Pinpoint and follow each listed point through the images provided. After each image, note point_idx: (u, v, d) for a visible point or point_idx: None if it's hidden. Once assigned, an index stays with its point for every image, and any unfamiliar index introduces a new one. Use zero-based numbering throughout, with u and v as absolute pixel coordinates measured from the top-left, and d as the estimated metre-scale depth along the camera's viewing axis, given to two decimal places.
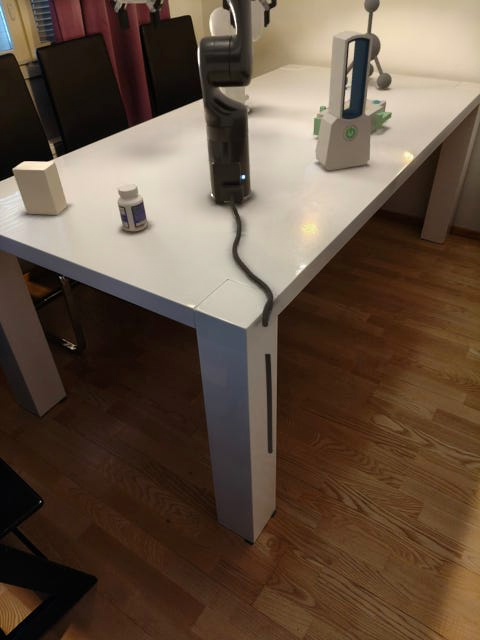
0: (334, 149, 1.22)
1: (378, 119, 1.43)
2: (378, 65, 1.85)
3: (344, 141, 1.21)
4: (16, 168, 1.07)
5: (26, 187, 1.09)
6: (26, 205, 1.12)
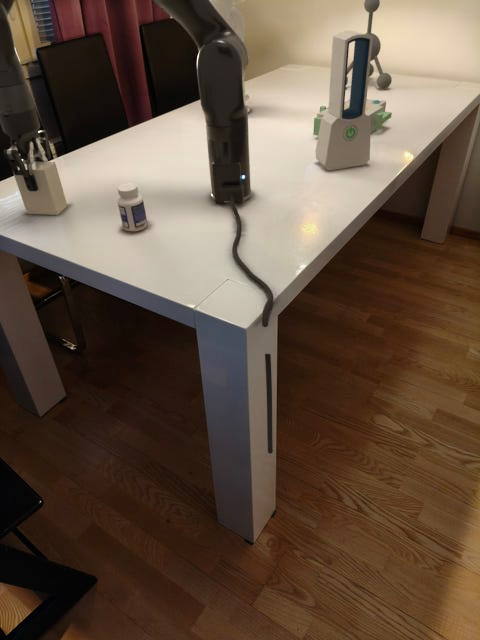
0: (334, 149, 1.22)
1: (378, 119, 1.43)
2: (378, 65, 1.85)
3: (344, 141, 1.21)
4: None
5: (26, 187, 1.09)
6: (26, 205, 1.12)
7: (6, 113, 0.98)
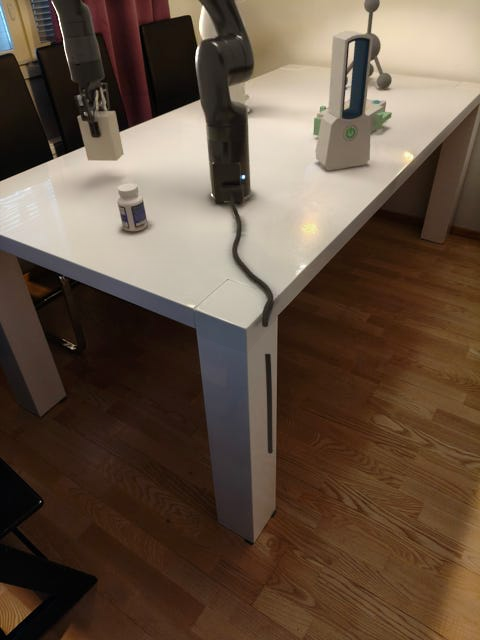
0: (334, 149, 1.22)
1: (378, 119, 1.43)
2: (378, 65, 1.85)
3: (344, 141, 1.21)
4: None
5: (90, 134, 1.19)
6: (88, 152, 1.22)
7: (78, 61, 1.08)
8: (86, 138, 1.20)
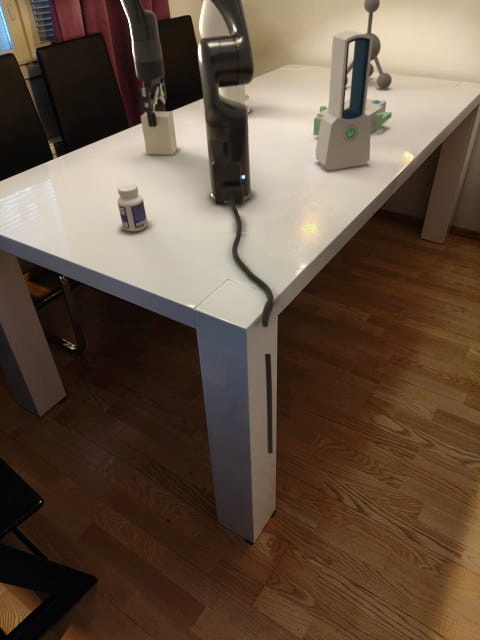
0: (334, 149, 1.22)
1: (378, 119, 1.43)
2: (378, 65, 1.85)
3: (344, 141, 1.21)
4: (143, 115, 1.36)
5: (150, 131, 1.38)
6: (147, 147, 1.41)
7: (144, 61, 1.25)
8: (147, 135, 1.38)
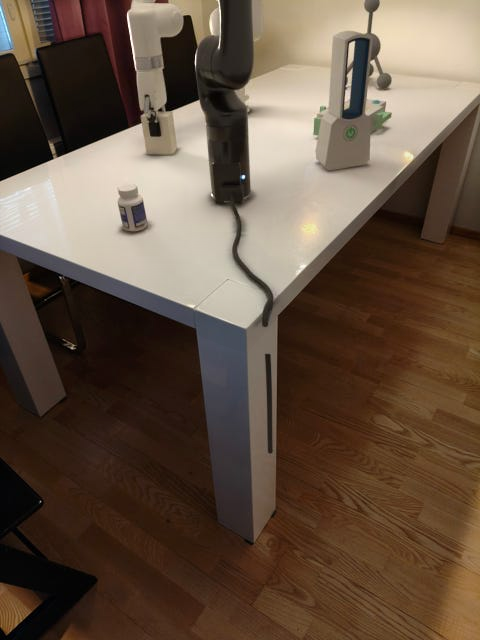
0: (334, 149, 1.22)
1: (378, 119, 1.43)
2: (378, 65, 1.85)
3: (344, 141, 1.21)
4: (143, 115, 1.36)
5: None
6: (147, 147, 1.41)
7: None
8: (146, 135, 1.38)
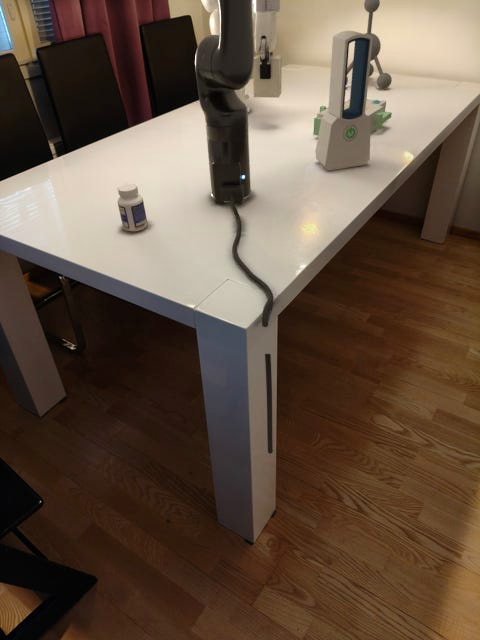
0: (334, 149, 1.22)
1: (378, 119, 1.43)
2: (378, 65, 1.85)
3: (344, 141, 1.21)
4: (255, 58, 1.43)
5: None
6: (255, 89, 1.48)
7: None
8: (256, 77, 1.46)
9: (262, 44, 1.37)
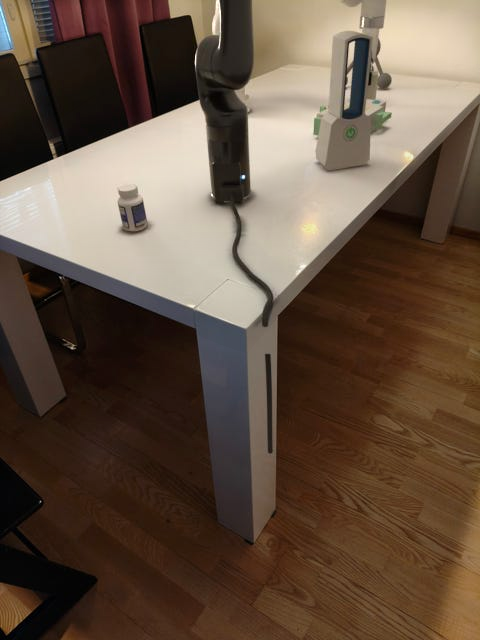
0: (334, 149, 1.22)
1: (378, 119, 1.43)
2: (378, 65, 1.85)
3: (344, 141, 1.21)
4: None
5: None
6: None
7: None
8: None
9: None
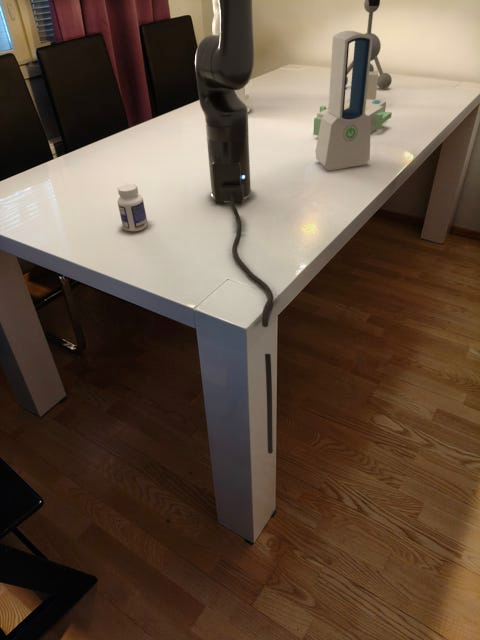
0: (334, 149, 1.22)
1: (378, 119, 1.43)
2: (378, 65, 1.85)
3: (344, 141, 1.21)
4: None
5: None
6: None
7: None
8: None
9: None
